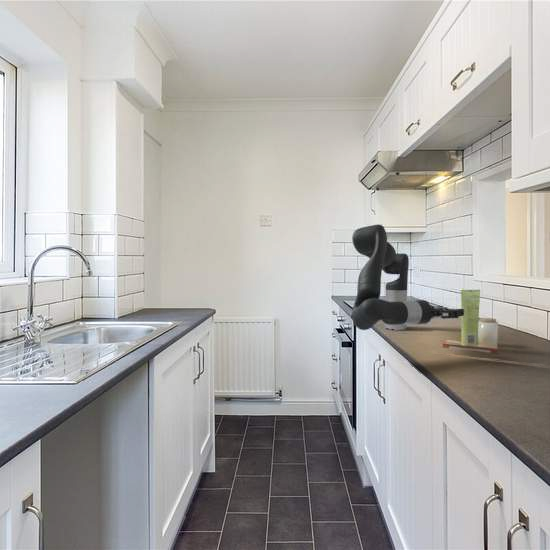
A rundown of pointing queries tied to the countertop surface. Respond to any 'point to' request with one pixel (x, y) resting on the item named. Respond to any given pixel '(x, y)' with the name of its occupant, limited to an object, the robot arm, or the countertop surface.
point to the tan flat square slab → (469, 347)
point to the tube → (470, 317)
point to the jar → (487, 332)
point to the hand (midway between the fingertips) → (452, 310)
